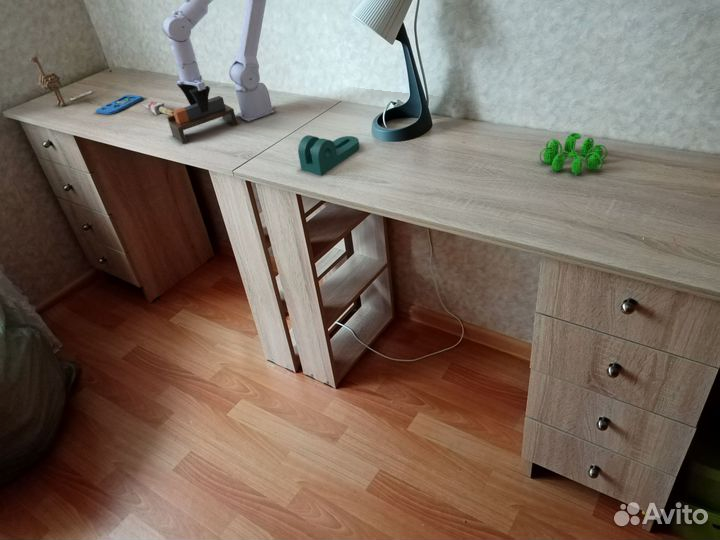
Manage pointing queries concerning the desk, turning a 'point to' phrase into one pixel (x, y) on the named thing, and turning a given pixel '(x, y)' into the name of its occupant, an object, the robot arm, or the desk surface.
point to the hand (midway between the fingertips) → (199, 108)
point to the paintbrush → (157, 108)
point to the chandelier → (573, 154)
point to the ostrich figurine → (51, 83)
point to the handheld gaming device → (119, 104)
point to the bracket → (325, 153)
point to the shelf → (200, 122)
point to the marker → (198, 110)
